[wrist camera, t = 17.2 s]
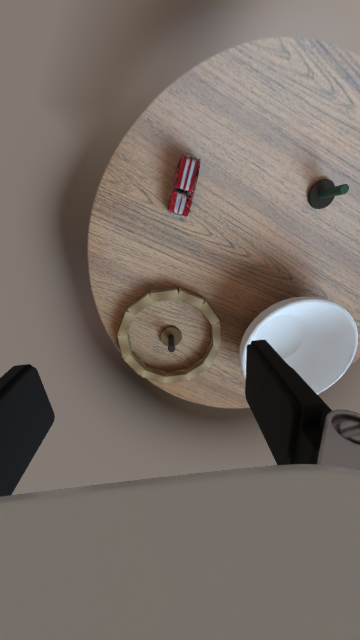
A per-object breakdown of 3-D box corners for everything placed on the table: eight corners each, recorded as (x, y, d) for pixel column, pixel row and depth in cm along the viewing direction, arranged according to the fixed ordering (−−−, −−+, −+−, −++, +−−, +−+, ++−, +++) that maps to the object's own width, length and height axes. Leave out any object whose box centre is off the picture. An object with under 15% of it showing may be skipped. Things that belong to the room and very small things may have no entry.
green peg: (306, 210, 35) (327, 207, 31) (309, 181, 34) (332, 173, 29) (331, 207, 35) (356, 204, 31) (335, 178, 34) (362, 169, 29)
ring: (131, 382, 46) (129, 388, 44) (110, 295, 39) (108, 298, 37) (221, 371, 46) (223, 376, 44) (216, 282, 39) (219, 284, 37)
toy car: (166, 213, 34) (166, 211, 31) (179, 152, 31) (181, 144, 29) (188, 219, 35) (190, 219, 32) (203, 161, 32) (207, 154, 29)
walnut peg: (161, 346, 43) (161, 360, 38) (159, 327, 41) (158, 340, 37) (182, 344, 43) (184, 357, 38) (180, 325, 41) (182, 337, 37)
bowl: (346, 337, 44) (377, 355, 38) (266, 393, 49) (282, 418, 42) (295, 264, 38) (322, 271, 32) (209, 335, 43) (217, 355, 36)
